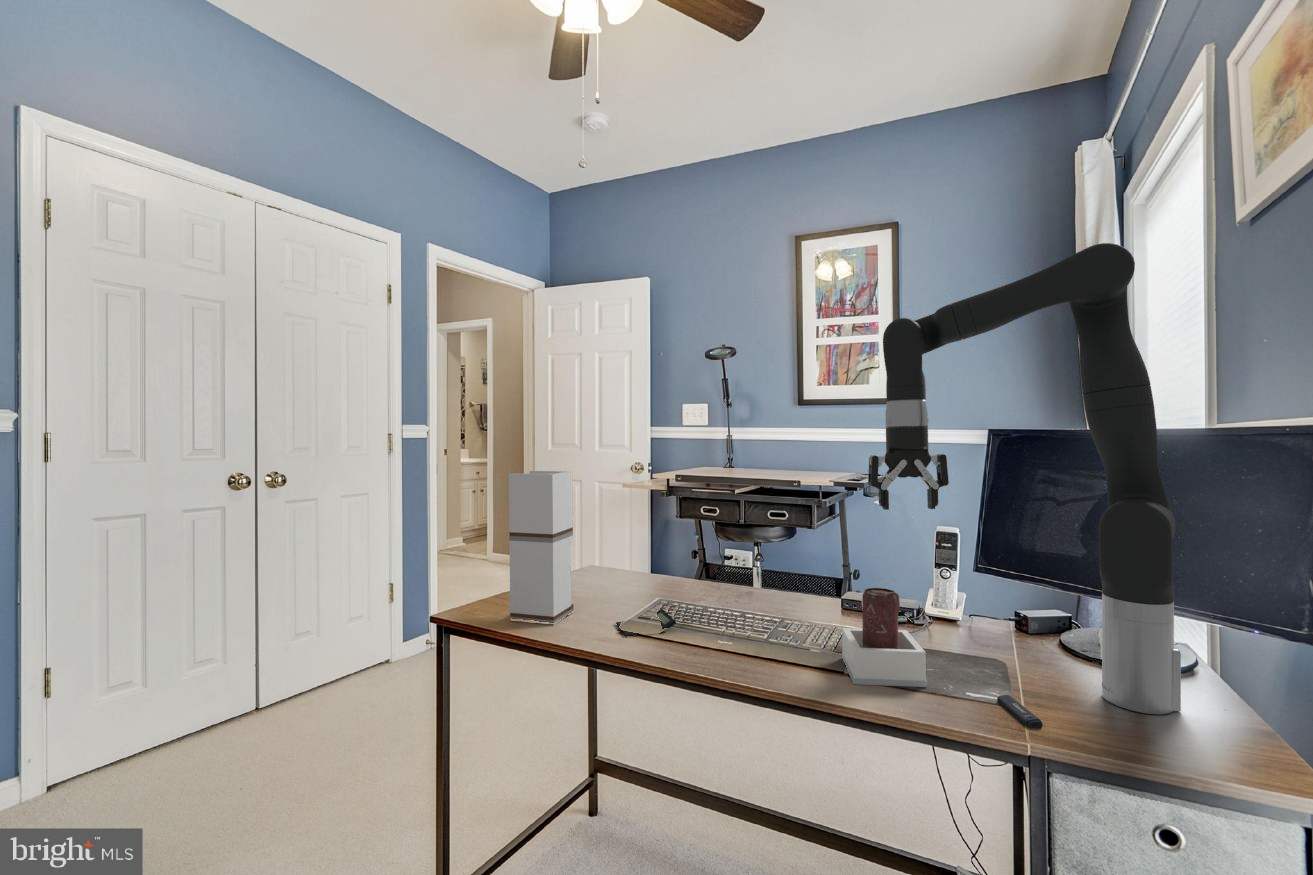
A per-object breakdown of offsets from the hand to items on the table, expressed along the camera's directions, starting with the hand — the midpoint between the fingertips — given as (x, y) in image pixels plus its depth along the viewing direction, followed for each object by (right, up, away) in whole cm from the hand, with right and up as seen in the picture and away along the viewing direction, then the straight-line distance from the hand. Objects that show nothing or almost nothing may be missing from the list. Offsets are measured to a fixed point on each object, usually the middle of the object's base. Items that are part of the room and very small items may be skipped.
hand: (908, 509), depth 118 cm
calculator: (-51, -30, +22) cm, 63 cm away
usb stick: (+9, -30, -21) cm, 38 cm away
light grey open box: (-7, -30, -4) cm, 31 cm away
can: (-7, -29, -4) cm, 30 cm away
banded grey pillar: (-76, -30, +31) cm, 87 cm away
